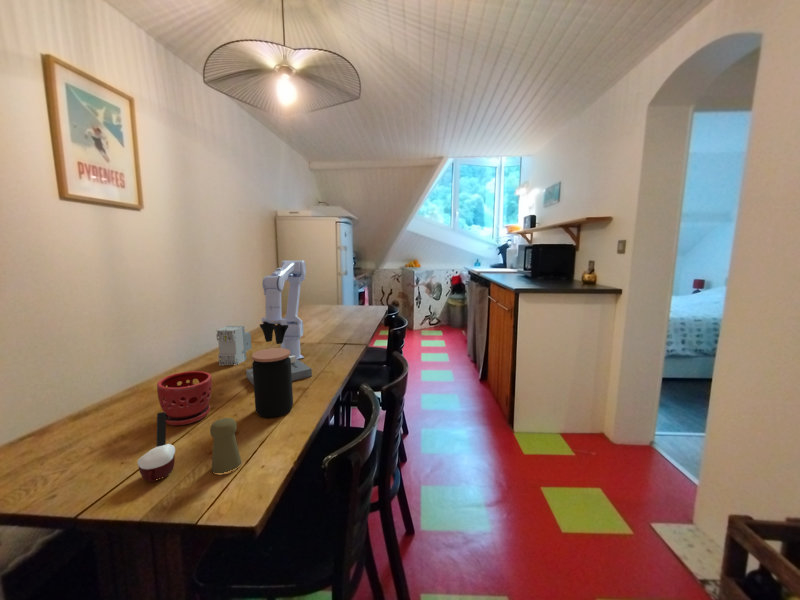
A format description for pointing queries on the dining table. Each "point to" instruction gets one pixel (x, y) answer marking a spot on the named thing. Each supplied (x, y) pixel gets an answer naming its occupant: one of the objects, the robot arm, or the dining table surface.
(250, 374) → the grey slider panel
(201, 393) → the plant pot
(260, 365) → the coffee jar
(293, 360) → the paddle
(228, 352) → the circuit breaker
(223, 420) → the cork
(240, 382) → the dining table surface
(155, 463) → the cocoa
